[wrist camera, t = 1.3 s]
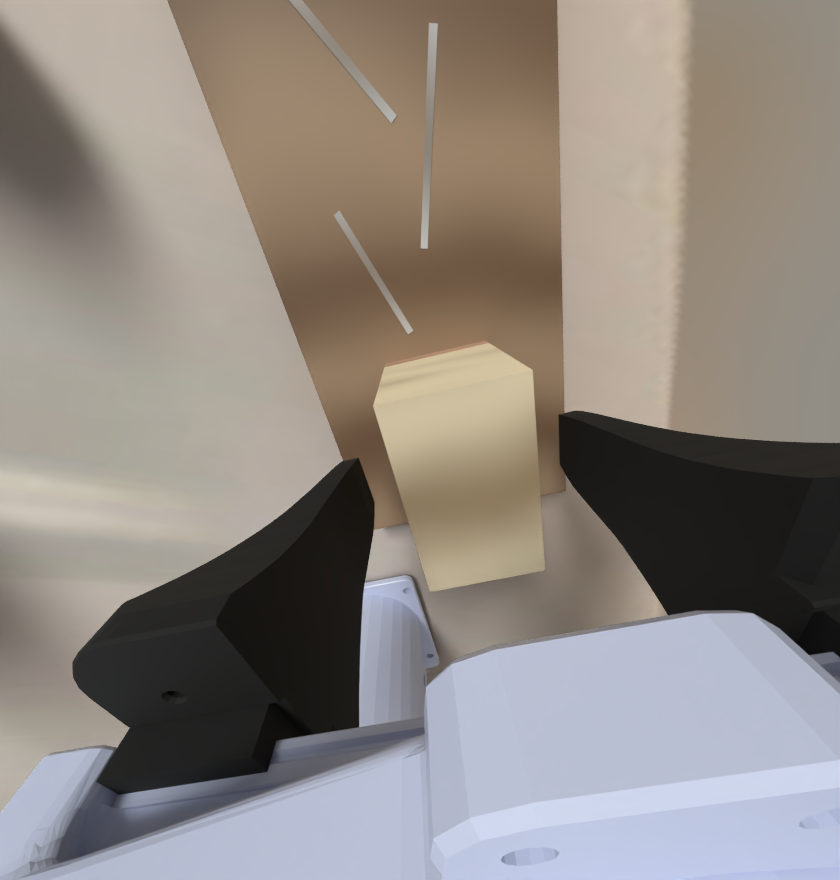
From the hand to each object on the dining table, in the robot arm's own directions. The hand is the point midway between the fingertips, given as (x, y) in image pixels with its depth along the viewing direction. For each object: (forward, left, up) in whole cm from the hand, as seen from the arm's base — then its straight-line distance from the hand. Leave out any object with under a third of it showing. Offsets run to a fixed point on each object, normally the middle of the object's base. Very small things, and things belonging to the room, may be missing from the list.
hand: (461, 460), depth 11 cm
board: (+5, 0, -4) cm, 7 cm away
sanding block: (0, 0, -3) cm, 3 cm away
